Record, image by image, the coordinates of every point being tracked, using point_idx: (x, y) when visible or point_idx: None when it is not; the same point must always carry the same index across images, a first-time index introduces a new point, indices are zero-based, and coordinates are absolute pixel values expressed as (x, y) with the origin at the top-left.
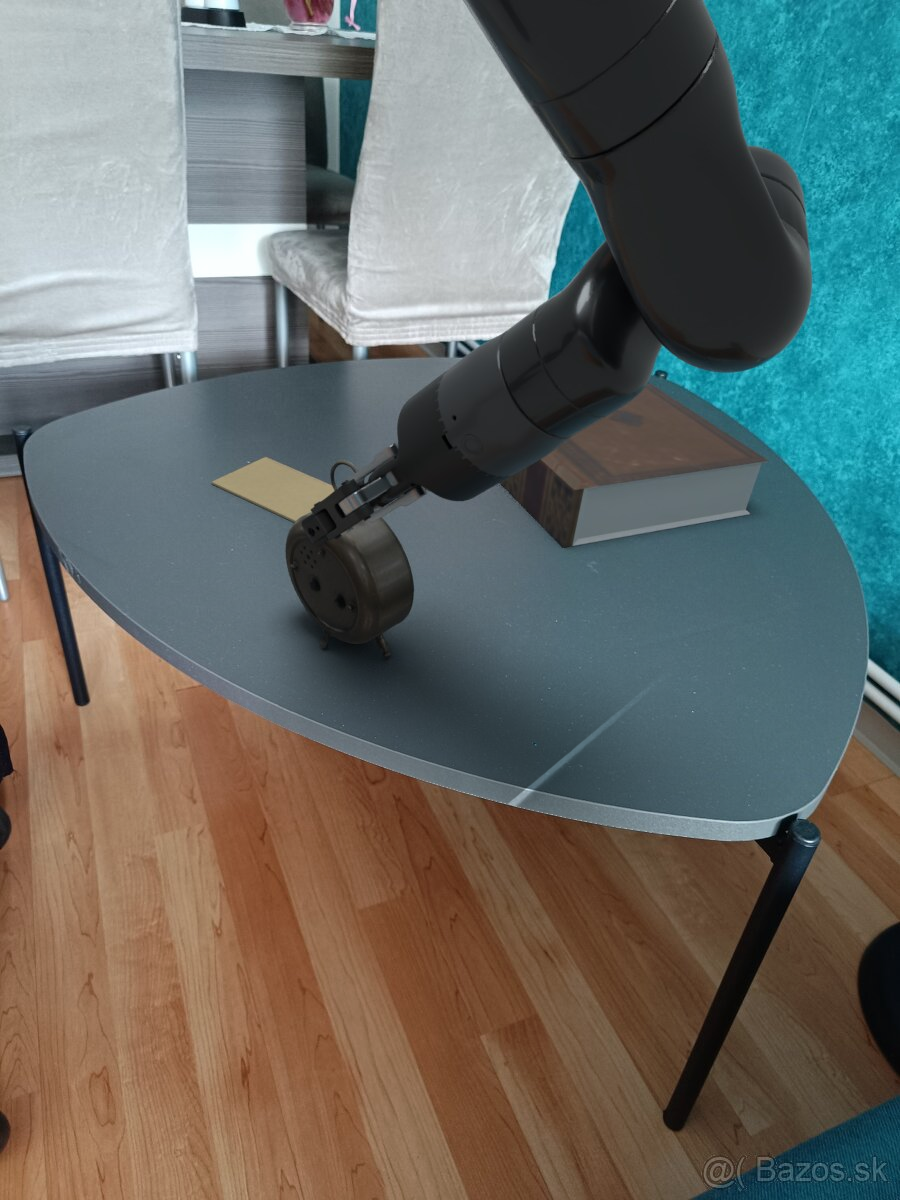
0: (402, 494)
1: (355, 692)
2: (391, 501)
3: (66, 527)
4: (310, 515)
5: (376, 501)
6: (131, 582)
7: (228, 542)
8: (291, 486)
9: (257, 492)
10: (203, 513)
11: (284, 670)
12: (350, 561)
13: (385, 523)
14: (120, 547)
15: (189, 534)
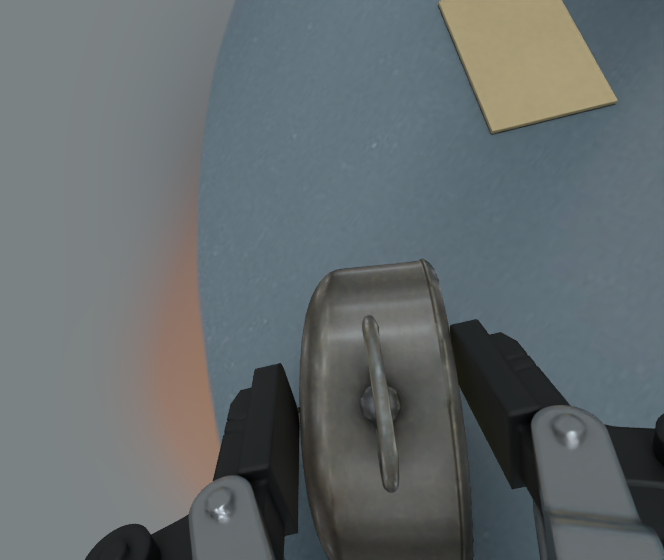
0: (540, 557)
1: None
2: (511, 487)
3: (240, 22)
4: (249, 399)
5: (485, 421)
6: (234, 147)
7: (379, 128)
8: (538, 51)
9: (481, 45)
10: (389, 58)
11: None
12: (313, 515)
13: (461, 495)
14: (264, 80)
15: (347, 91)
